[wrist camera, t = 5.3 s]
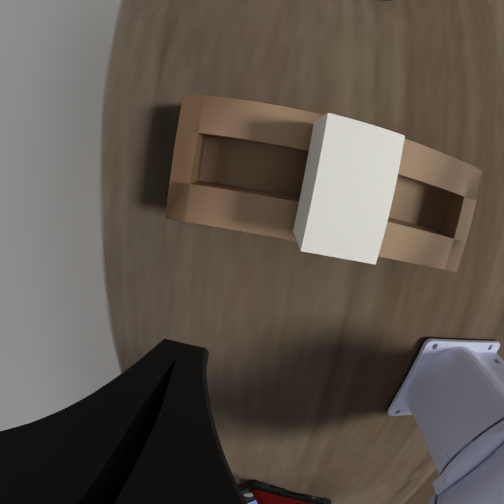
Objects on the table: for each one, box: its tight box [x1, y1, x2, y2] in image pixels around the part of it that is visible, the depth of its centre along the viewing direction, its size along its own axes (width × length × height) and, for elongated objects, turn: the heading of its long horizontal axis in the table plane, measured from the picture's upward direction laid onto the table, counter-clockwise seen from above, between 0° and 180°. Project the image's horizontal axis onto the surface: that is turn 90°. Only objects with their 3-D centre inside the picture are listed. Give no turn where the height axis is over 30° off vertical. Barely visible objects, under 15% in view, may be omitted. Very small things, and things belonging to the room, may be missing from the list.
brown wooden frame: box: [165, 94, 482, 272], centre depth 15 cm, size 16×6×3 cm, turn 80°
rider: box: [293, 113, 405, 265], centre depth 12 cm, size 3×5×5 cm, turn 170°
